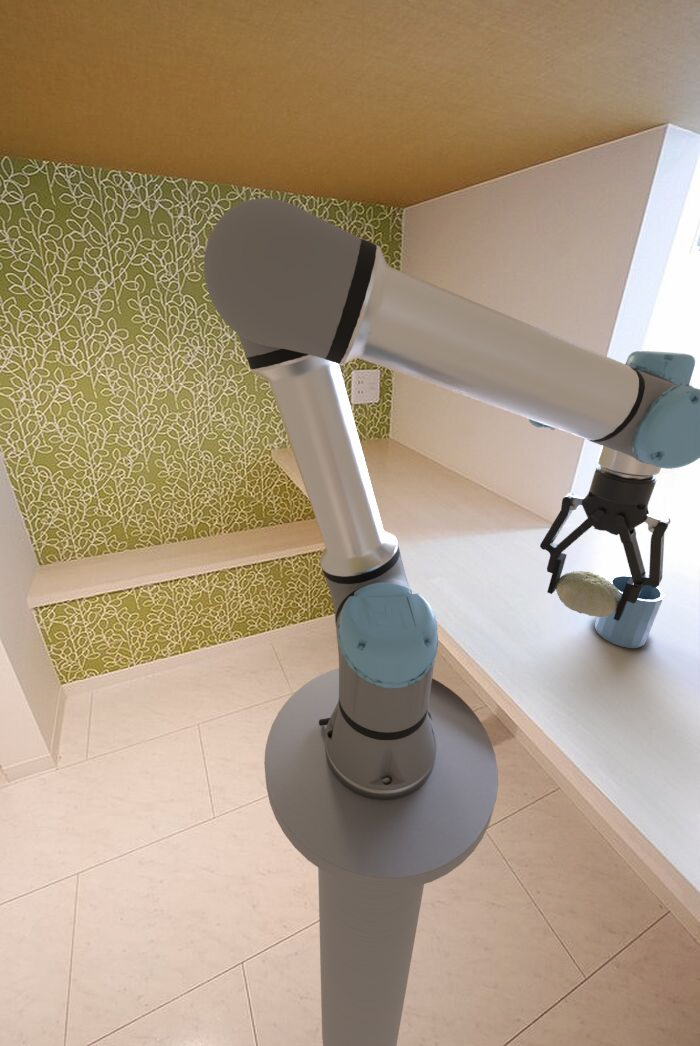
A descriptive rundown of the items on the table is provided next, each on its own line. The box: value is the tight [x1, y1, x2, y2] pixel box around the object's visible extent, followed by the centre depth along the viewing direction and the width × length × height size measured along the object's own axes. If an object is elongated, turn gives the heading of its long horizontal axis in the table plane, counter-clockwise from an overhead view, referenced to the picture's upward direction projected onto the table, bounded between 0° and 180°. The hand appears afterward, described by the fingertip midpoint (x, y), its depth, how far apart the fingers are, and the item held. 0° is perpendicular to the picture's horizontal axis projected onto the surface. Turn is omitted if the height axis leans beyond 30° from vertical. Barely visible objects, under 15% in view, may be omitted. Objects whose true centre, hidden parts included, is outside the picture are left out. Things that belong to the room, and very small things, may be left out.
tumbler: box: [594, 574, 665, 649], centre depth 78 cm, size 8×8×10 cm
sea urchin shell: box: [555, 570, 621, 618], centre depth 69 cm, size 9×8×8 cm
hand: (583, 602), depth 70 cm, fingers closed on sea urchin shell, 9 cm apart
